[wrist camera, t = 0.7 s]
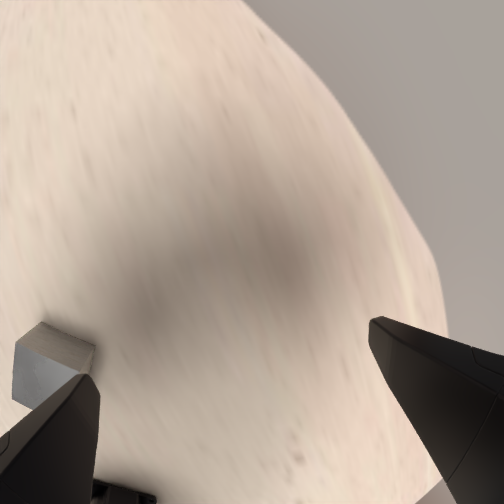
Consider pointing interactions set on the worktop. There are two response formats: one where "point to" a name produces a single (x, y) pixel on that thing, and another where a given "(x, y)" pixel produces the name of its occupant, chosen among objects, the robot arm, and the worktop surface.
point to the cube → (47, 363)
